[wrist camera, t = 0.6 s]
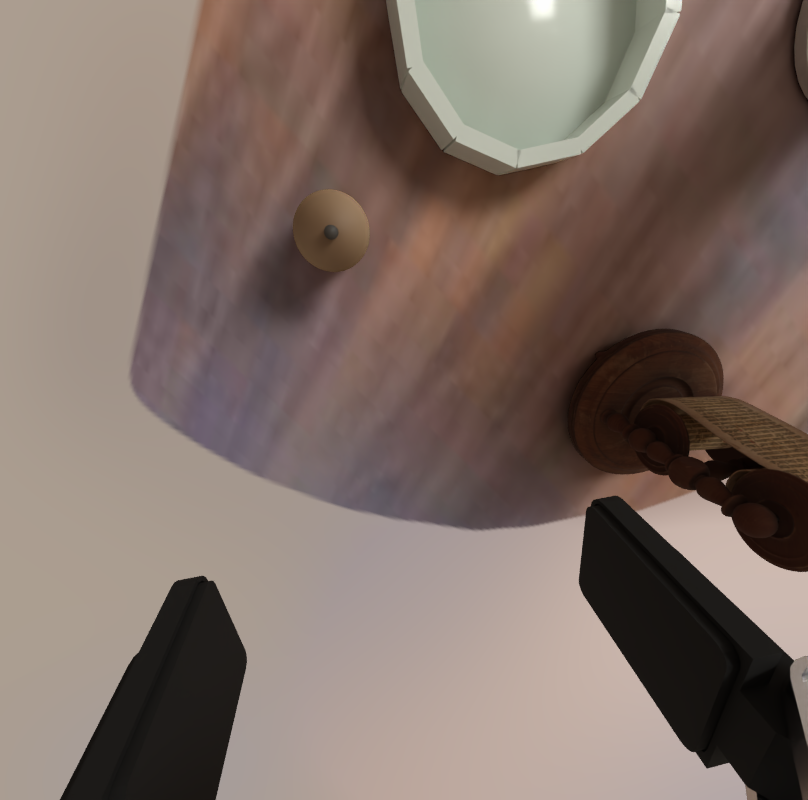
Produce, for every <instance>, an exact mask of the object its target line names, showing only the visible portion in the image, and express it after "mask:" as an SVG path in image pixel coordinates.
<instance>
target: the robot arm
mask: <svg viewBox="0 0 808 800" xmlns="http://www.w3.org/2000/svg"><path fill="white" fill-rule="evenodd" d="M794 54H795V68H796V73H797V78H798V82H799V84H800V86H801V89H802V91H803V93H804V95H805V96H806V98H807V99H808V0H803V2H802V6H801V10H800V14H799V18H798V22H797V27H796V36H795V44H794ZM579 585H580V588H581V591H582V593H583V595H584V596H585V598H586V599H587V601H588V603H589V604H590V605H591V607H592V608H593V610H594V612H595V613H596V615H597V616H598V618H599V619H600V621H601V622H602V623H603V625H604V627H605V628H606V630H607V631H608V633H609V634H610V636H611V637H612V639H613V640H614V642H615V643H616V645H617V646H618V648H619V649H620V651H621V652H622V654H623V655H624V657H625V658H626V660H627V661H628V663H629V664H630V666H631V667H632V669H633V670H634V672H635V673H636V674H637V676H638V678H639V679H640V681H641V682H642V684H643V685H644V687H645V688H646V690H647V691H648V693H649V694H650V696H651V697H652V699H653V700H654V702H655V703H656V705H657V706H658V708H659V709H660V711H661V712H662V714H663V715H664V717H665V718H666V720H667V721H668V723H669V724H670V726H671V727H672V729H673V731H674V732H675V733H676V735H677V736H678V738H679V739H680V741H681V742H682V743H683V745H684V746H685V747H686V748H687V749H688V750H690V751H691V752H696V753H697V755H698V756H699V758H700V759H701V761H702V762H703V763H704V765H705V766H706V768H710V767H715V766H718V765H722V764H726V763H730V764H731V765H732V767H733V768H734V770H735V771H736V772H737V774H738V775H739V776H740V778H741V779H742V781H743V782H744V783H745V785H746V794H747V800H808V656H804V657H802V658H799V659H796V660H795V661H794V660H793V659H792V658H791V657H790V656H788V655H787V654H786V653H785V652H784V651H783V650H782V649H781V648H780V647H779V646H778V645H777V644H776V643H775V642H774V641H773V640H772V639H771V638H770V637H768V636H767V635H766V634H765V633H764V632H763V631H762V630H761V629H760V628H759V627H758V626H757V625H756V624H755V623H754V622H752V620H750V619H749V618H748V617H747V616H746V615H745V614H744V613H743V612H742V611H741V610H740V609H739V608H738V607H737V606H736V605H734V603H732V602H731V601H730V600H729V599H728V598H727V597H726V596H725V595H724V594H723V593H722V592H721V591H720V590H718V588H716V587H715V586H714V585H713V584H712V583H711V582H710V581H709V580H708V579H707V578H706V577H705V576H704V575H703V574H701V573H700V572H699V570H697V569H696V568H695V567H694V566H693V565H692V564H691V563H690V562H689V561H688V560H687V559H686V558H685V557H684V556H683V555H682V554H681V553H679V552H678V551H677V550H676V549H675V548H673V547H672V546H671V545H670V544H669V543H668V542H667V541H666V540H665V539H664V538H663V537H662V536H661V535H660V534H659V533H658V532H657V531H655V530H654V529H653V528H652V527H651V526H650V525H649V524H648V523H647V522H646V521H645V520H644V519H642V517H641V516H640V515H639V514H638V513H636V512H635V511H634V510H633V509H632V508H631V507H630V506H629V505H628V504H627V503H626V502H625V501H624V500H623V499H621V498H620V497H618V496H611V497H606V498H601V499H596V500H593V501H592V504H591V507H588V508H587V510H586V519H585V527H584V537H583V546H582V556H581V565H580V574H579ZM246 663H247V657H246V651H245V649H244V646H243V644H242V642H241V640H240V638H239V635H238V634H237V631H236V629H235V626H234V624H233V622H232V620H231V618H230V615H229V613H228V611H227V609H226V606H225V604H224V602H223V600H222V598H221V595H220V593H219V591H218V589H217V587H216V584H215V583H214V581H208V580H207V579H206V577H204V576H199V577H194V578H188V579H183V580H178V581H176V582H175V583H174V584H173V586H172V587H171V589H170V591H169V593H168V595H167V597H166V599H165V601H164V603H163V605H162V607H161V609H160V611H159V613H158V615H157V617H156V619H155V621H154V623H153V625H152V627H151V629H150V631H149V634H148V635H147V637H146V639H145V641H144V643H143V645H142V647H141V649H140V651H139V653H138V654H137V655H135V656H134V657H133V659H132V661H131V662H130V664H129V665H128V667H127V669H126V671H125V673H124V675H123V677H122V679H121V681H120V683H119V685H118V687H117V689H116V691H115V693H114V695H113V697H112V698H111V701H110V702H109V705H108V706H107V709H106V710H105V712H104V714H103V716H102V718H101V720H100V722H99V724H98V726H97V728H96V730H95V732H94V734H93V736H92V738H91V740H90V742H89V744H88V746H87V748H86V750H85V752H84V754H83V756H82V758H81V759H80V762H79V763H78V765H77V768H76V769H75V771H74V773H73V775H72V777H71V779H70V781H69V783H68V785H67V787H66V789H65V791H64V793H63V795H62V797H61V799H60V800H215V799H216V795H217V791H218V787H219V782H220V778H221V774H222V769H223V765H224V761H225V756H226V751H227V747H228V743H229V739H230V735H231V730H232V725H233V722H234V718H235V713H236V709H237V704H238V700H239V696H240V691H241V687H242V683H243V679H244V674H245V670H246Z"/></svg>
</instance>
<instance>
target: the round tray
mask: <svg viewBox="0 0 808 800" xmlns="http://www.w3.org/2000/svg"><path fill="white" fill-rule="evenodd" d="M386 5H387V11H388V17H389V23H390V29H391V36H392V42H393V48H394V54H395V60H396V66H397V72H398V78H399V84H400V89H402V91H401V92H402V93H403V95H404V96H405V98H406V99H407V101H408V102H409V104H410V105H411V107H412V108H413V109H414V111H415V112H416V114H417V115H418V117H419V118H420V120H421V121H422V123H423V124H424V125H425V127H426V128H427V130H428V131H429V133H430V134H431V136H432V137H433V139H434V140H435V142H436V143H437V144H438V146H439V147H440V149H441V150H443V149H444V151H443V152H445V153H447V154H449V155H452V156H454V157H456V158H459V159H461V160H463V161H466V162H468V163H470V164H472V165H475V166H477V167H479V168H482V169H484V170H486V171H488V172H491V173H493V174H495V175H503V174H508V173H512V172H517V171H521V170H526V169H531V168H535V167H540V166H544V165H549V164H553V163H557V162H560V161H563V160H566V159H569V158H571V157H574V156H577V155H580V154H582V153H584V152H585V151H586V150H587V149H588V148H589V147H590V146H591V145H592V144H594V143H595V142H596V141H597V140H598V139H599V138H600V137H601V136H602V135H603V134H604V133H606V132H607V131H608V130H609V129H610V128H611V127H612V126H613V125H614V124H615V123H616V122H617V121H619V120H620V119H621V118H622V117H623V116H624V115H625V114H626V113H627V112H628V111H629V110H631V109H632V108H633V107H634V106H635V105H636V104H637V103H638V102H639V100H640V99H641V98H642V96H643V94H644V92H645V90H646V88H647V85H648V83H649V81H650V79H651V77H652V75H653V72H654V70H655V68H656V66H657V64H658V62H659V59H660V57H661V55H662V53H663V51H664V48H665V46H666V44H667V42H668V40H669V38H670V35H671V33H672V31H673V29H674V27H675V25H676V22H677V20H678V18H679V16H680V14H679V12H680V11H681V7H682V0H386Z"/></svg>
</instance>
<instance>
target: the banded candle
mask: <svg viewBox="0 0 808 800" xmlns="http://www.w3.org/2000/svg"><path fill="white" fill-rule="evenodd" d="M293 235H294V239H295V242H296V245H297V247H298V249H299V251H300V253H301V254H302V255H303V257H304V258H305V259H306V260H307V261H308V262H309V263H311V264H312V265H313V266H315V267H317V268H319V269H321V270H324V271H329V272H340V271H344V270H347V269H349V268H351V267H353V266H354V265H356V264H357V263H358V262H359V261H360V260H361V259H362V257H363V256H364V254H365V252H366V250H367V247H368V244H369V237H370V229H369V224H368V220H367V217H366V215H365V213H364V211H363V209H362V208H361V206H360V205H359V204H358V203H357V202H356V201H355V200H354V199H353V198H352V197H350V196H349V195H347V194H345V193H343V192H341V191H338V190H332V189H325V190H319V191H316V192H314V193H312V194H310V195H309V196H307V197H306V198H305V199H304V200H303V201H302V202H301V204H300V205H299V207H298V208H297V210H296V213H295V216H294V221H293Z"/></svg>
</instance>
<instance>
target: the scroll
mask: <svg viewBox="0 0 808 800" xmlns="http://www.w3.org/2000/svg"><path fill="white" fill-rule="evenodd" d="M595 357H596V359H597V360H596V361H595V362H594V363H593V364H592V365H591V366H590V368H589V369H588V370H587V371H586V373H585V374H584V376H583V377H582V379H581V380H580V382H579V384H578V385H577V387H576V390H575V392H574V394H573V397H572V400H571V403H570V407H569V413H568V429H569V434H570V438H571V441H572V443H573V445H574V447H575V448H576V450H577V451H578V452H579V453H580V455H581V456H583V457H584V458H585V459H586V460H587V461H588V462H589V463H590V464H591V465H593V466H594V467H596V468H598V469H600V470H602V471H605V472H609V473H614V474H635V473H640V472H645V471H648V470H650V471H651V472H653V473H655V474H658V475H669V477H670V479H671V481H672V482H673V483H674V484H675V485H677V486H679V487H681V488H683V489H687V490H696V491H697V493H698V494H699V495H700V496H701V497H702V498H704V499H706V500H708V501H710V502H713V503H715V504H718V505H720V506H722V508H721V511H722V514H723V515H725V516H728V517H732V520H733V523H734V525H735V527H736V529H737V531H738V533H739V534H740V536H741V537H742V539H743V540H744V541H745V543H746V544H747V545H748V546H749V547H750V548H751V549H752V550H753V551H754V552H755V553H756V554H758V555H759V556H760V557H762V558H763V559H765V560H766V561H768V562H769V563H771V564H773V565H775V566H778V567H780V568H783V569H786V570H791V571H797V572H807V571H808V434H806V433H804V432H803V431H801V430H799V429H797V428H795V427H793V426H791V425H789V424H788V423H786V422H784V421H782V420H780V419H778V418H776V417H774V416H772V415H770V414H768V413H766V412H764V411H762V410H761V409H759V408H757V407H755V406H753V405H751V404H749V403H746V402H744V401H742V400H739V399H736V398H732V397H726V396H721V395H722V390H723V370H722V365H721V362H720V359H719V357H718V355H717V353H716V352H715V351H714V349H713V348H712V347H711V346H710V345H709V344H708V343H707V342H705V341H704V340H703V339H701V338H699V337H697V336H695V335H692V334H688V333H685V332H682V331H679V330H673V329H655V330H649V331H645V332H641V333H638V334H636V335H633V336H631V337H628V338H626V339H624V340H622V341H621V342H619V343H617V344H616V345H614V346H613V347H611V348H610V349H608V350H607V351H606V352H604V351H601V352H597V353H596V354H595ZM689 450H706V452H707V453H708V455H709V456H710V457H711V458H712V459H713V460H711V461H707V462H705V463H703V462H702V461H700V460H698V459H696V458H693V457H688V455H689ZM728 477H729V479H728V480H727V483H726V486H725V485H724V484H723V483H722V482H721V481H722V480H724V479H726V478H728Z"/></svg>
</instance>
